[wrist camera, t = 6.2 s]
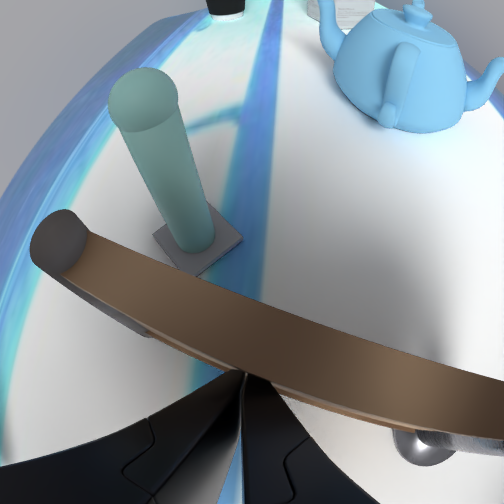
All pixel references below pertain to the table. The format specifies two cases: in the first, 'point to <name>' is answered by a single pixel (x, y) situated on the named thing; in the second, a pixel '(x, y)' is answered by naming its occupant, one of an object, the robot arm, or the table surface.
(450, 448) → the hinge post
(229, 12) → the dixie cup
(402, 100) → the teapot
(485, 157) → the table surface
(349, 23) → the supplement box
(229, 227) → the post
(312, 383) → the gate
